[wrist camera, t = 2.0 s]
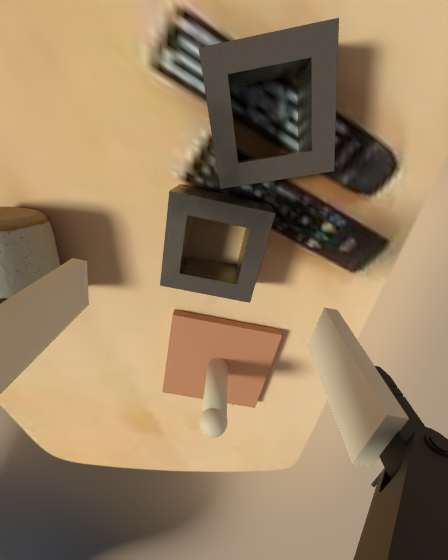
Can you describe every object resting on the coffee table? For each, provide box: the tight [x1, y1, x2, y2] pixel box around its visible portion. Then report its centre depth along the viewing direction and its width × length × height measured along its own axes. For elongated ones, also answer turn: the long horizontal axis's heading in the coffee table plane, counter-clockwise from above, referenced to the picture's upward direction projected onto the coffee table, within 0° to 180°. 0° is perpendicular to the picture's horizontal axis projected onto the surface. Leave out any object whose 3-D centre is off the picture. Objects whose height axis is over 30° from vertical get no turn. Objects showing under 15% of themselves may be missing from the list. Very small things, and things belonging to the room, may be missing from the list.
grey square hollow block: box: [199, 18, 339, 189], centre depth 18 cm, size 8×8×4 cm
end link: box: [160, 185, 276, 303], centre depth 23 cm, size 8×8×4 cm
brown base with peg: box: [163, 310, 282, 438], centre depth 27 cm, size 12×12×9 cm
